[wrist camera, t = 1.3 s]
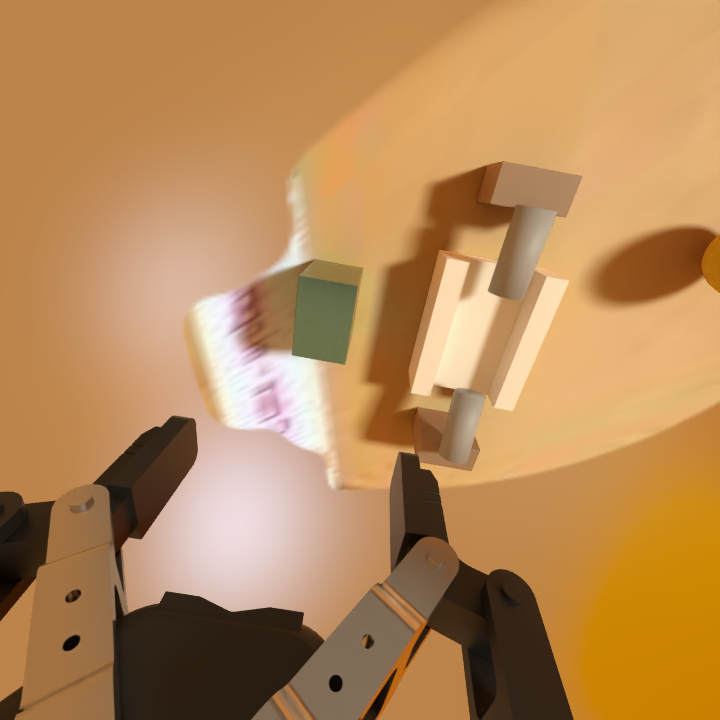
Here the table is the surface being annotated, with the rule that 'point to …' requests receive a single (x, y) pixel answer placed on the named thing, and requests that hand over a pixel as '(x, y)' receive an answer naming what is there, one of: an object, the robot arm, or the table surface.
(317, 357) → the green rectangular block
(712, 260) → the lemon
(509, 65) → the table surface
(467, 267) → the shaft rig
